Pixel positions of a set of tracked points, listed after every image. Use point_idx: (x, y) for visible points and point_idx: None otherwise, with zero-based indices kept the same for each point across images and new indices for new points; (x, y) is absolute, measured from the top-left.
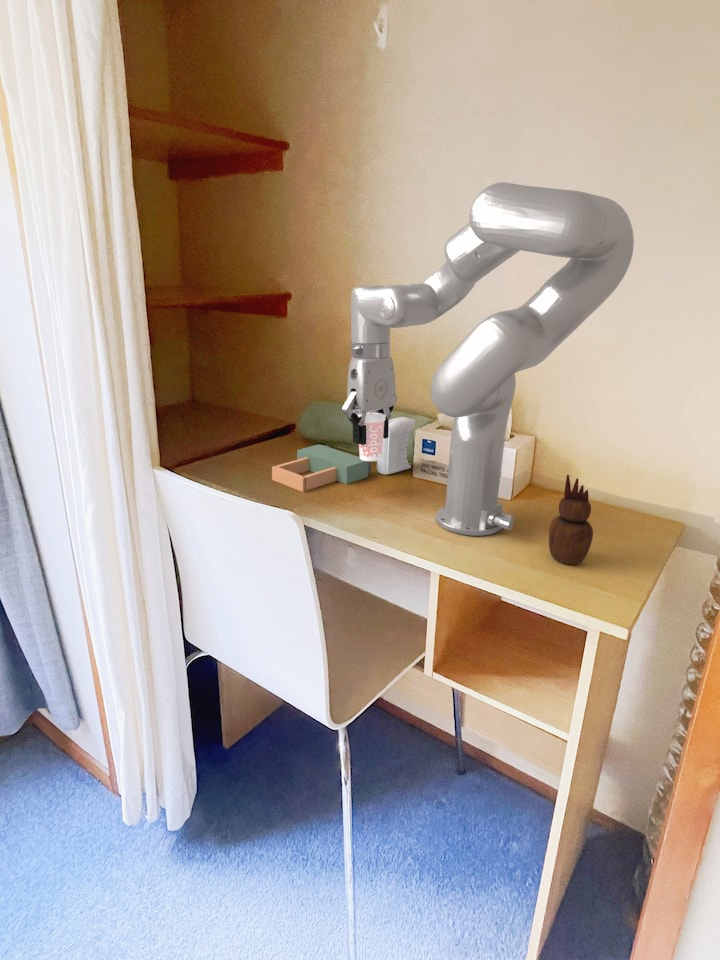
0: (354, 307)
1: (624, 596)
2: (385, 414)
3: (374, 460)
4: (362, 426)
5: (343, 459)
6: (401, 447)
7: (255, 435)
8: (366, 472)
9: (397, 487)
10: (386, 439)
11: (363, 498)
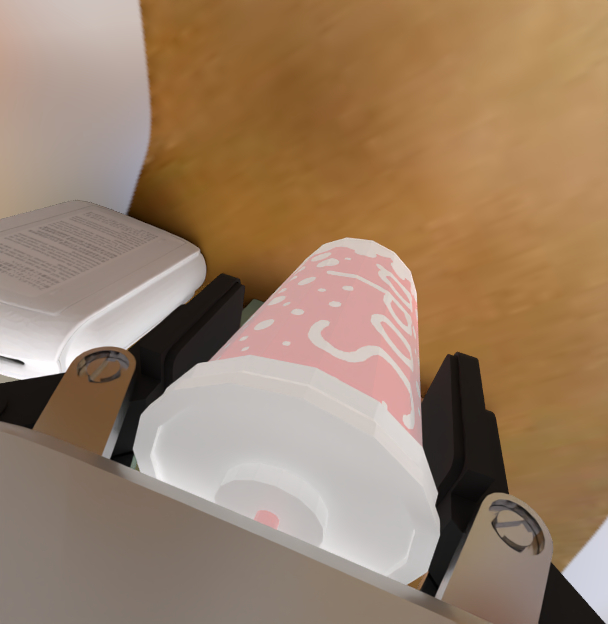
0: None
1: None
2: (124, 403)
3: (398, 259)
4: (480, 484)
5: None
6: (77, 251)
7: None
8: (255, 309)
9: (279, 161)
10: (113, 318)
11: (459, 228)
